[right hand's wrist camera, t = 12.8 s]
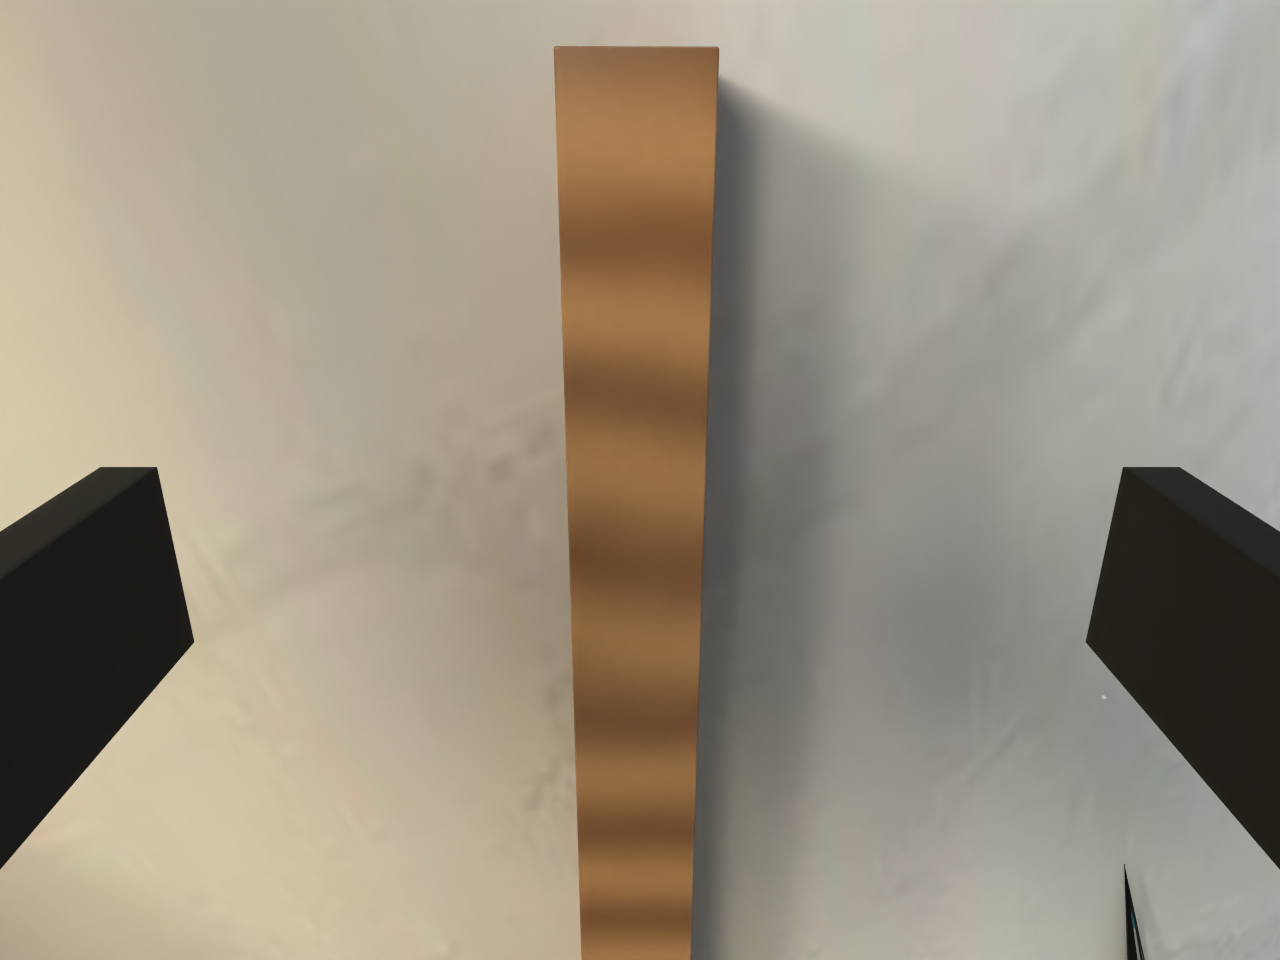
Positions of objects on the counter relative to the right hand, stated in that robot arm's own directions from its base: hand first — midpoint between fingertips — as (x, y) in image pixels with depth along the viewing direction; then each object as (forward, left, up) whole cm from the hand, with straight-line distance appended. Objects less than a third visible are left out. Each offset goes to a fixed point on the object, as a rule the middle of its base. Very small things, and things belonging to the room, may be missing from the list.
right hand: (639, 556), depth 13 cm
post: (+10, -17, -25) cm, 32 cm away
